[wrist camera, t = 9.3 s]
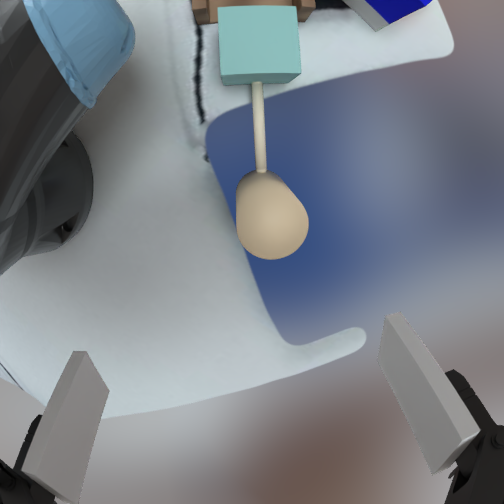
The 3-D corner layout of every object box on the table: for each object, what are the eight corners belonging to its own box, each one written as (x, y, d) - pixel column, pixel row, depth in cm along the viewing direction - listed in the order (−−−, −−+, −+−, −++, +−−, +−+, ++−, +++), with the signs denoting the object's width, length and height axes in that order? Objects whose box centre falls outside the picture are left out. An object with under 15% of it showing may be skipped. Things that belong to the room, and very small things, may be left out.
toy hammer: (232, 219, 31) (232, 262, 22) (220, 30, 23) (214, -10, 14) (291, 216, 31) (314, 256, 22) (283, 29, 23) (305, -10, 14)
